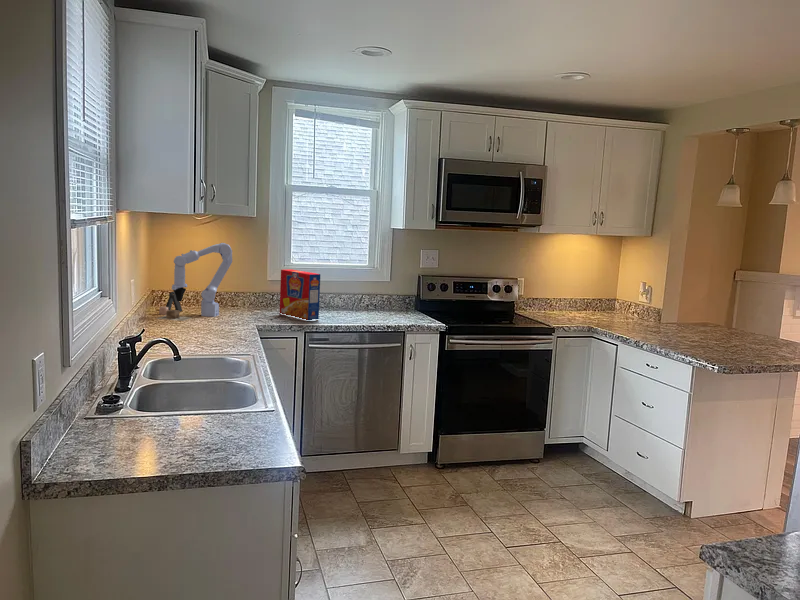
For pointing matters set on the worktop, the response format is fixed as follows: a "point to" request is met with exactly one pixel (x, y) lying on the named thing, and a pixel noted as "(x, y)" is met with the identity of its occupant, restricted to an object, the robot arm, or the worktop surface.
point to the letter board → (175, 319)
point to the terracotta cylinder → (163, 310)
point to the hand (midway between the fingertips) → (179, 301)
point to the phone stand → (176, 303)
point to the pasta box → (300, 294)
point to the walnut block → (172, 314)
